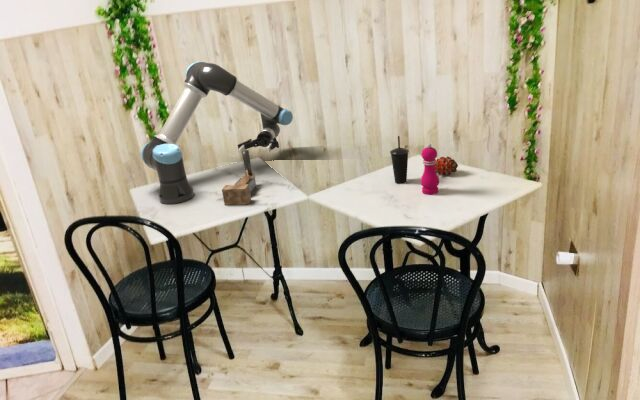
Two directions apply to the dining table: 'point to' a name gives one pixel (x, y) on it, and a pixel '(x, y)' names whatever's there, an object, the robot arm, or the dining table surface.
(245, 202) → the socket block
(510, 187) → the dining table surface
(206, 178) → the dining table surface
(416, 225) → the dining table surface
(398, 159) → the drinking cup
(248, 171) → the mallet
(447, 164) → the pine cone
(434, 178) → the pepper mill
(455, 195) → the dining table surface
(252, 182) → the channel
